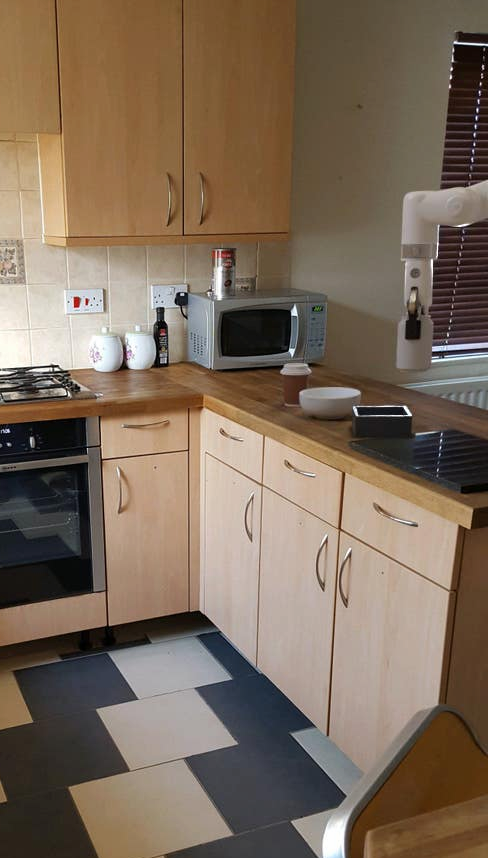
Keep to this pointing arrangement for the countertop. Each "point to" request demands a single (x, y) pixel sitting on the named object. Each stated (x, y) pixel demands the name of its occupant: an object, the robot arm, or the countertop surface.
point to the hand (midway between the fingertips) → (415, 337)
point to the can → (415, 347)
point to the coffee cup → (294, 382)
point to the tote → (381, 422)
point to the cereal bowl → (329, 401)
